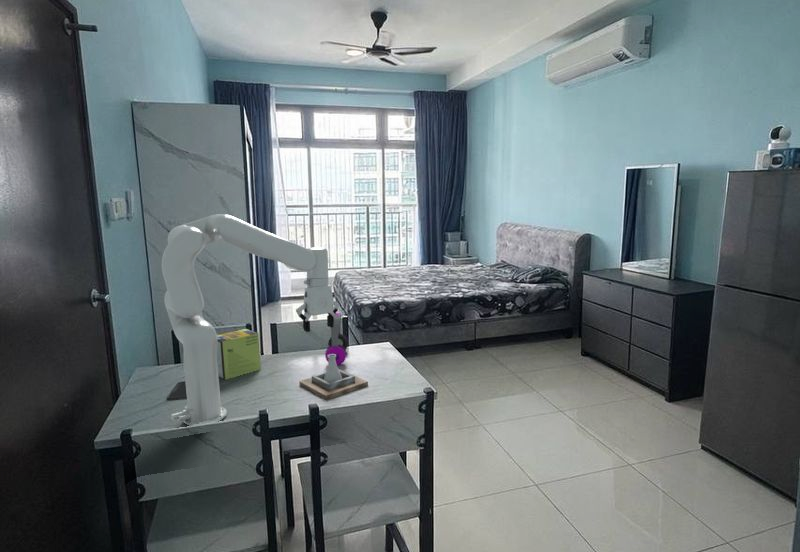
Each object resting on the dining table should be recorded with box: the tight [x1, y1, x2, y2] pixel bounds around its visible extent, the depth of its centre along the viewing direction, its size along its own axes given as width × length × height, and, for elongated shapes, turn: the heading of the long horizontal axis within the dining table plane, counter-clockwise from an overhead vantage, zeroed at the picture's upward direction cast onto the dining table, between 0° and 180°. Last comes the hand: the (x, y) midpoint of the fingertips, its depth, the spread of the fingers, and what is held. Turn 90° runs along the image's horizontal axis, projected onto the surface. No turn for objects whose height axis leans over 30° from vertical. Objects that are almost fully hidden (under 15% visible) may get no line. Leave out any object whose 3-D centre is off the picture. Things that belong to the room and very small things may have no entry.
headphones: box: [324, 312, 349, 366], centre depth 197 cm, size 21×9×20 cm, turn 4°
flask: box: [324, 354, 342, 383], centre depth 168 cm, size 7×7×10 cm
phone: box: [166, 380, 187, 400], centre depth 166 cm, size 8×1×15 cm
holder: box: [298, 368, 369, 401], centre depth 169 cm, size 18×18×4 cm
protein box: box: [217, 328, 262, 381], centre depth 183 cm, size 10×15×16 cm
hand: (318, 329), depth 166 cm, fingers open, 9 cm apart
